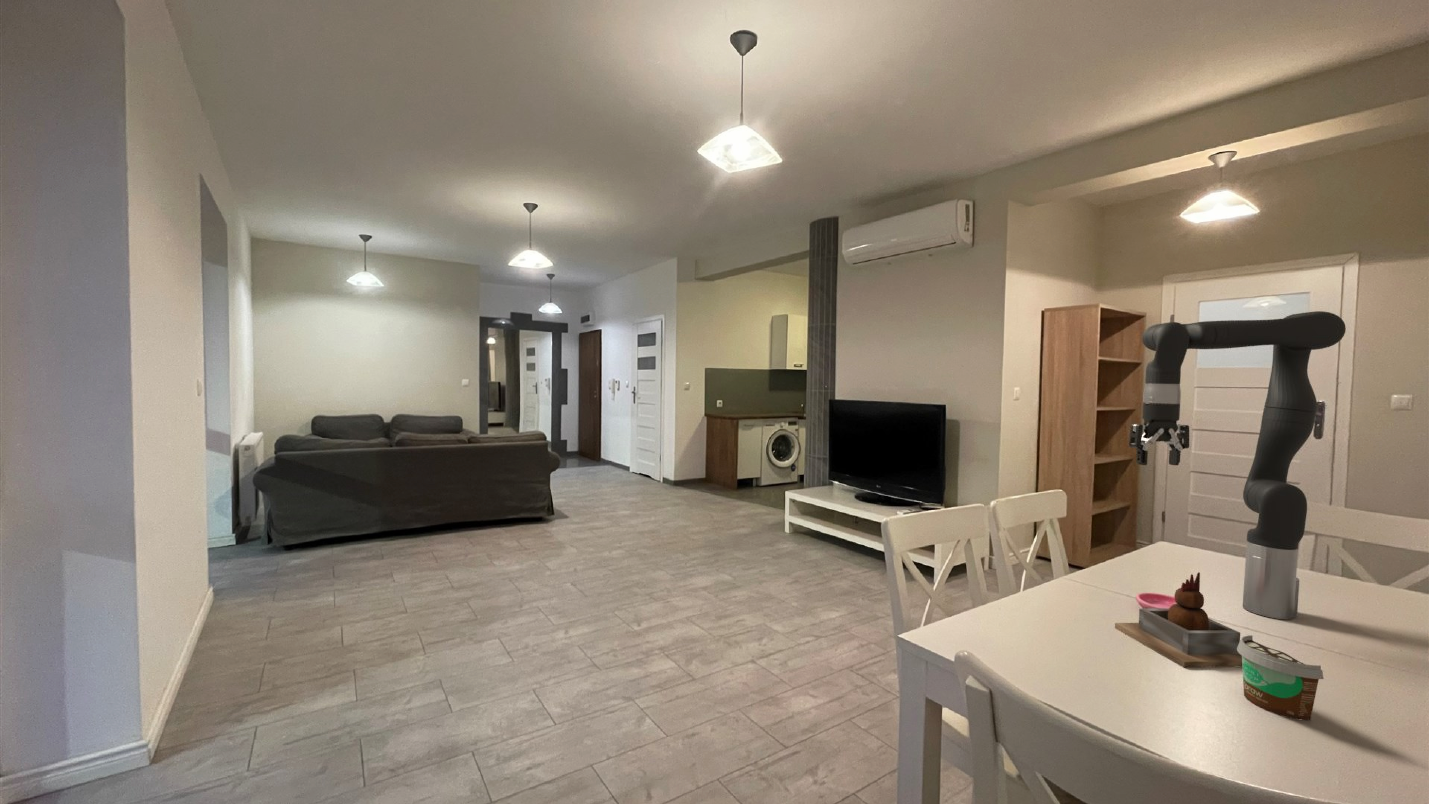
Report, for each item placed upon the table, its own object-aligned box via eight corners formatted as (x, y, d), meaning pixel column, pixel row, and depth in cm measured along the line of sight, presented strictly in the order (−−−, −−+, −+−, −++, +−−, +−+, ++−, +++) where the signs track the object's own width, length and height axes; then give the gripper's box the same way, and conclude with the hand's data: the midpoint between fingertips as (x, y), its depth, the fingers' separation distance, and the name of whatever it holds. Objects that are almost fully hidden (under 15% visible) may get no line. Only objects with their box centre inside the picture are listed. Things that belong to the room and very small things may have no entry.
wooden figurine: (1199, 637, 125) (1203, 570, 124) (1212, 649, 120) (1216, 578, 119) (1162, 632, 127) (1166, 566, 127) (1173, 643, 122) (1177, 574, 121)
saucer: (1175, 605, 147) (1176, 593, 147) (1212, 626, 134) (1213, 613, 134) (1124, 602, 148) (1124, 590, 148) (1155, 623, 136) (1156, 610, 136)
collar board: (1187, 627, 133) (1189, 603, 133) (1267, 666, 115) (1269, 638, 115) (1114, 628, 132) (1116, 603, 132) (1184, 667, 114) (1185, 639, 114)
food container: (1215, 686, 107) (1219, 634, 107) (1245, 685, 108) (1249, 633, 107) (1287, 726, 95) (1290, 668, 94) (1320, 725, 95) (1324, 667, 95)
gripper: (1174, 401, 149) (1171, 463, 150) (1123, 400, 148) (1120, 462, 149) (1201, 402, 142) (1197, 467, 142) (1147, 401, 141) (1143, 467, 141)
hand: (1157, 464), depth 146 cm, fingers open, 8 cm apart
